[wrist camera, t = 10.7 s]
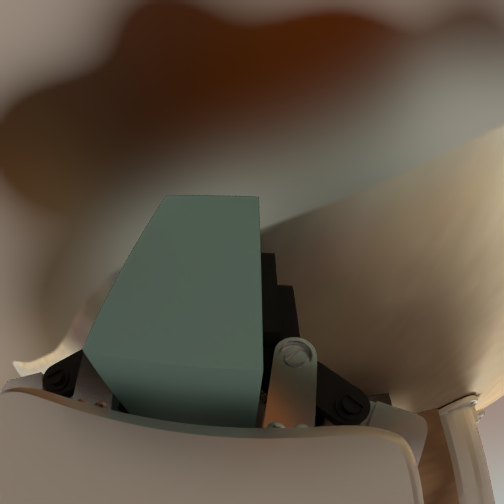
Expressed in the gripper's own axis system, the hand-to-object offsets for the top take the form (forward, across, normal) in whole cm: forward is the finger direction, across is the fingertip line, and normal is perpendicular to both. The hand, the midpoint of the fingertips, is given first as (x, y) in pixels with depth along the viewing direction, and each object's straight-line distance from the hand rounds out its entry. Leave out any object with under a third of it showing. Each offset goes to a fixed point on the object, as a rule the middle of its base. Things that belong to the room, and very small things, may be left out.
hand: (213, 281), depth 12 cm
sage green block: (+1, 0, +6) cm, 6 cm away
